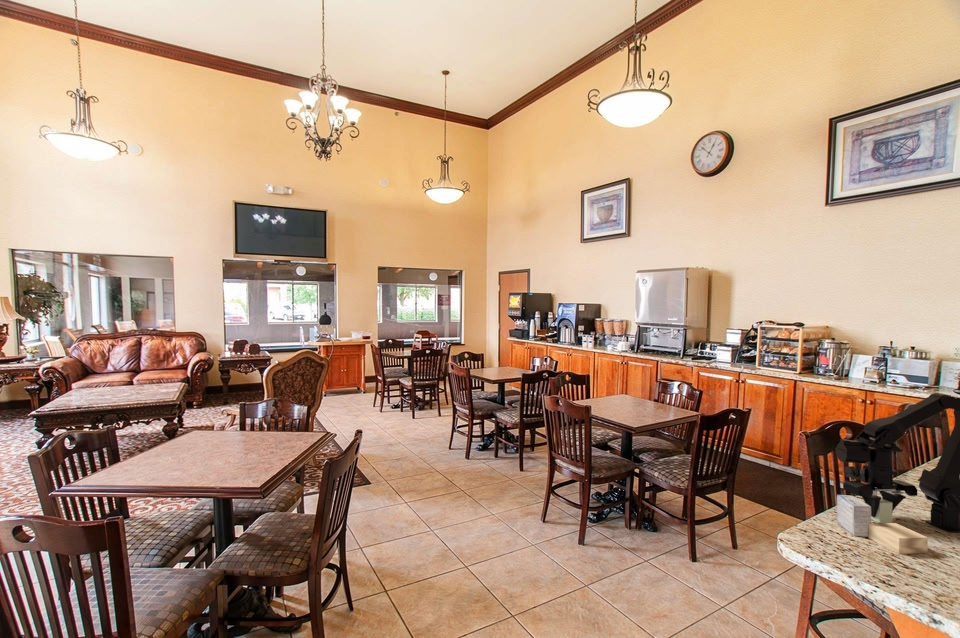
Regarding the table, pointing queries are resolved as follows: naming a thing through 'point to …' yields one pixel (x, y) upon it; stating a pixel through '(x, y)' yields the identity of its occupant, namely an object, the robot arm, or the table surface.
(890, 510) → the sage block
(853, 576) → the table surface
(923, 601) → the table surface
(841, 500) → the medicine box
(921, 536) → the beech slab
